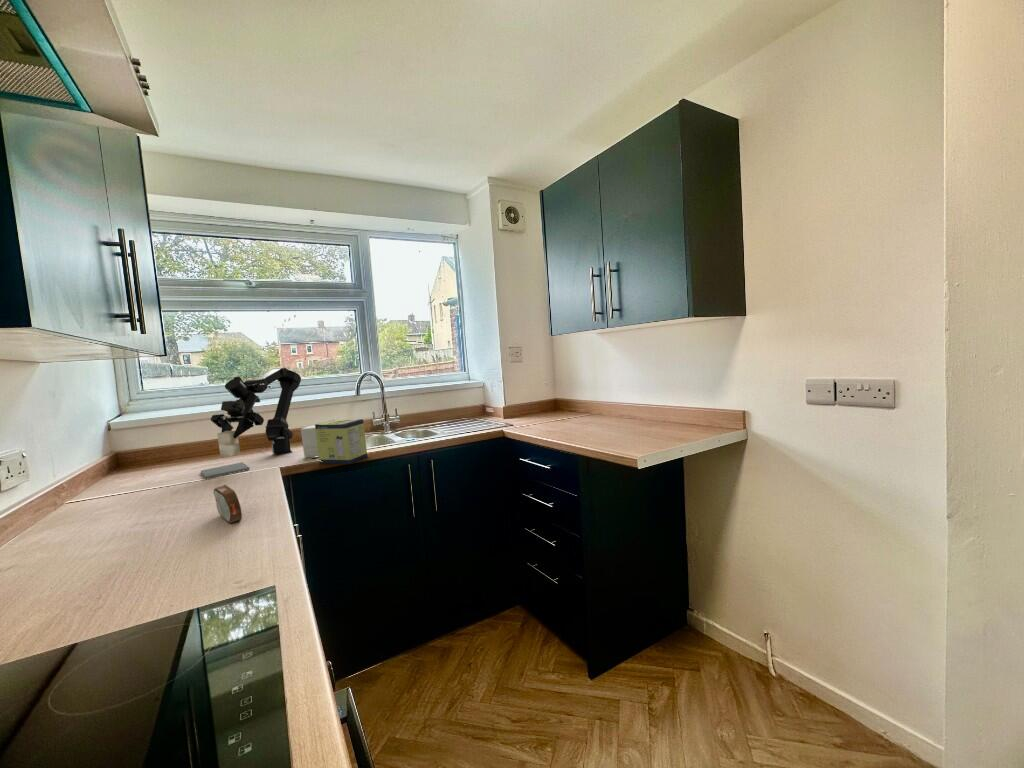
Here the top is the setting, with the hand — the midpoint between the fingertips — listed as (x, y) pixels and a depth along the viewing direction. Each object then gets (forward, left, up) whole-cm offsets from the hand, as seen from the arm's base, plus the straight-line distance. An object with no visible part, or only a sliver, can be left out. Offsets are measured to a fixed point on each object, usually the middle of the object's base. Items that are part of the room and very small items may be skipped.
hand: (228, 438), depth 163 cm
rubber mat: (+2, -5, -13) cm, 15 cm away
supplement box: (-30, +2, -14) cm, 33 cm away
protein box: (-34, +22, -14) cm, 43 cm away
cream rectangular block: (0, 0, -7) cm, 7 cm away
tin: (+10, +59, -14) cm, 62 cm away
